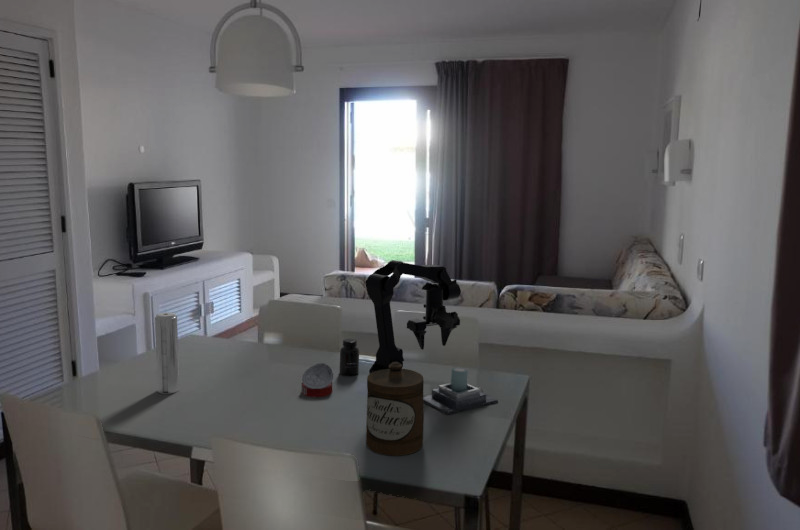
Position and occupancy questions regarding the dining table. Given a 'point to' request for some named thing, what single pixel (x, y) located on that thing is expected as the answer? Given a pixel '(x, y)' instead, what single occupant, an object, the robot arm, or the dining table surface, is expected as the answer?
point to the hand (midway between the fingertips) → (433, 347)
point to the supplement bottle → (349, 358)
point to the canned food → (317, 381)
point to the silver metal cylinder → (167, 353)
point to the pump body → (459, 379)
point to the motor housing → (457, 399)
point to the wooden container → (395, 411)
